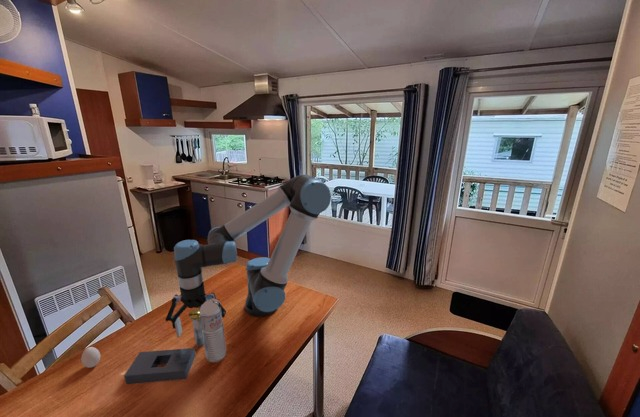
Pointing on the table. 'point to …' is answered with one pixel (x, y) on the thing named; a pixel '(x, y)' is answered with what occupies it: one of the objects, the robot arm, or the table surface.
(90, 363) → the egg
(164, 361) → the grey block with hole
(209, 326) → the water bottle
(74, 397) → the table surface
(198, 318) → the pin
